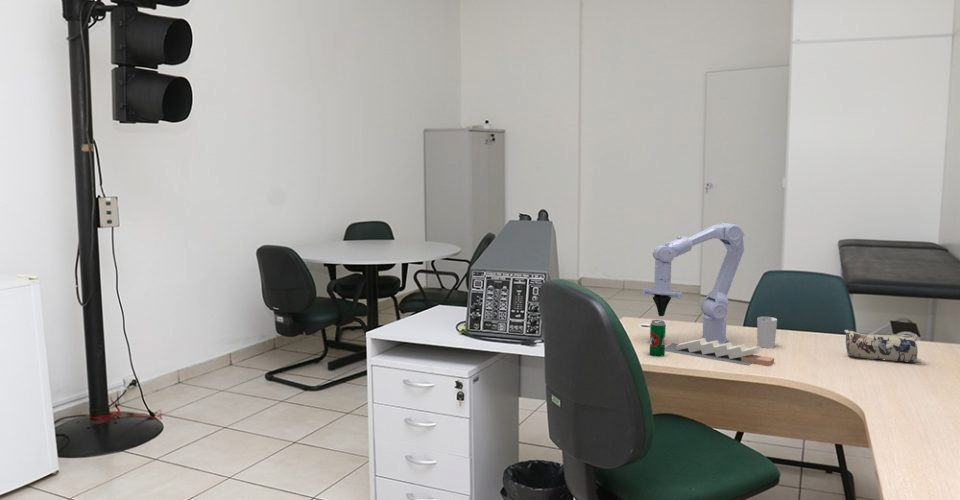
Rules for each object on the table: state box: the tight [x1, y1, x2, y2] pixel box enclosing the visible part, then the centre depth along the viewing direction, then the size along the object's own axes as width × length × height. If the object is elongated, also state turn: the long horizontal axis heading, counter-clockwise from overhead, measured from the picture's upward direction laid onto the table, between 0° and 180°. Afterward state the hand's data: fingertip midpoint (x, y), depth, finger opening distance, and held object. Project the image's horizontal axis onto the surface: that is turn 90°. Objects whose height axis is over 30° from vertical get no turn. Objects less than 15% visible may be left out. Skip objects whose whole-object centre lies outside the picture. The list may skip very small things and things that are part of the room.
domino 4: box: [715, 343, 748, 357], centre depth 245 cm, size 2×5×9 cm
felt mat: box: [665, 343, 753, 366], centre depth 250 cm, size 12×31×1 cm, turn 52°
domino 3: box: [701, 341, 733, 355], centre depth 248 cm, size 2×5×9 cm
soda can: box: [649, 319, 666, 357], centre depth 248 cm, size 5×5×12 cm
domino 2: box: [688, 340, 719, 352], centre depth 251 cm, size 2×5×9 cm
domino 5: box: [728, 345, 761, 359], centre depth 242 cm, size 2×5×9 cm
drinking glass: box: [756, 316, 778, 349], centre depth 262 cm, size 7×7×10 cm
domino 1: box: [676, 338, 706, 350], centre depth 253 cm, size 2×5×9 cm
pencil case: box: [844, 329, 919, 363], centre depth 245 cm, size 22×8×10 cm, turn 67°
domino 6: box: [741, 354, 775, 367], centre depth 240 cm, size 2×5×9 cm
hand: (661, 315), depth 264 cm, fingers closed
